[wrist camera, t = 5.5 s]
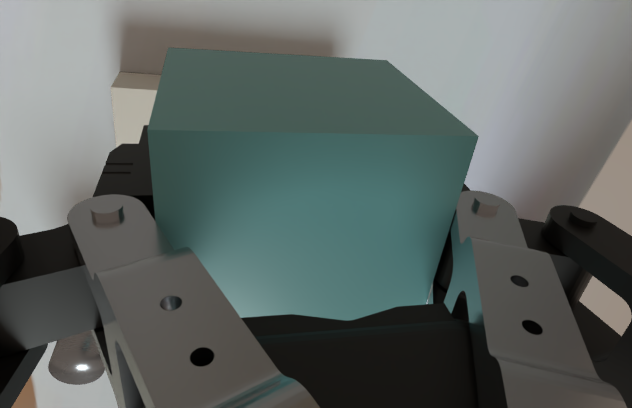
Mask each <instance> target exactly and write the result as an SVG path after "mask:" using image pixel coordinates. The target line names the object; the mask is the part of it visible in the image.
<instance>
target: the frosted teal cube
mask: <svg viewBox="0 0 632 408" xmlns="http://www.w3.org/2000/svg"><path fill="white" fill-rule="evenodd" d="M147 133H148V144H149V155H150V166H151V177H152V189H153V200H154V211H155V222H156V223H157V225H158V226H159V228H160V229H161V231H162V232H163V234H164V235H165V236H166V238H167V239H168V241H169V242H170V244H171V245H172V247H173V248H174V250H176V249H180V248H183V247H189V248H190V249H191V250H192V251H193V252H194V253H195V255H196V256H197V257H198V259H199V260H200V262H201V263H202V264H203V266H204V267H205V269H206V270H207V271H208V273H209V274H210V276H211V277H212V278H213V280H214V281H215V283H216V284H217V285H218V287H219V288H220V290H221V291H222V292H223V294H224V295H225V296H226V298H227V299H228V301H229V302H230V303H231V305H232V306H233V308H234V309H235V310H236V312H237V313H238V315H239V316H240V317H241V318H244V317H258V316H272V315H286V314H296V315H304V316H312V317H320V318H329V319H337V320H347V321H348V320H355V319H358V318H362V317H365V316H368V315H371V314H375V313H378V312H381V311H384V310H388V309H391V308H394V307H397V306H411V305H425V304H426V302H427V299H428V296H429V292H430V289H431V286H432V283H433V280H434V277H435V273H436V270H437V267H438V264H439V261H440V257H441V254H442V251H443V248H444V245H445V242H446V238H447V235H448V232H449V229H450V226H451V222H452V219H453V216H454V213H455V210H456V207H457V203H458V200H459V197H460V194H461V191H462V187H463V184H464V181H465V178H466V175H467V172H468V168H469V165H470V162H471V159H472V156H473V152H474V149H475V146H476V143H477V140H478V137H479V136H478V135H476V134H475V133H474V132H473V131H472V130H470V129H469V128H468V127H467V126H466V125H464V124H463V123H462V122H461V121H459V120H458V119H457V118H456V117H455V116H453V115H452V114H451V113H450V112H449V111H447V110H446V109H445V108H444V107H443V106H441V105H440V104H439V103H438V102H436V101H435V100H434V99H433V98H432V97H430V96H429V95H428V94H427V93H426V92H424V91H423V90H422V89H421V88H420V87H418V86H417V85H416V84H415V83H413V82H412V81H411V80H410V79H409V78H407V77H406V76H405V75H404V74H403V73H401V72H400V71H399V70H398V69H397V68H395V67H394V66H393V65H392V64H390V63H389V62H388V61H387V60H372V59H355V58H338V57H321V56H303V55H286V54H269V53H252V52H235V51H218V50H201V49H184V48H168V51H167V55H166V59H165V62H164V66H163V70H162V74H161V78H160V82H159V86H158V90H157V94H156V98H155V101H154V105H153V109H152V113H151V117H150V121H149V125H148V129H147Z"/></svg>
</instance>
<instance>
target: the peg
mask: <svg viewBox="0 0 632 408" xmlns="http://www.w3.org/2000/svg"><path fill="white" fill-rule="evenodd" d="M48 368H49V372H50V373H51V375H52V376H53V377H54V378H56V379H57V380H59V381H61V382H64V383H67V384H75V385H80V384H87V383H90V382H93V381H95V380H97V379H98V378H100V377H101V376H102V374H103V373H104V370H105V367H104V364H103V361H102V359H101V356H100V353H99V351H98V348H97V345H96V342H95V340H94V337H93V334H92V332H91V330H89V331H86V332H83V333H80V334H76V335H73V336H70V337H67V338H63V339H60V340H57V343H56V346H55V348H54V351H53V354H52V356H51V359H50V362H49V366H48Z"/></svg>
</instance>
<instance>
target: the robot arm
mask: <svg viewBox="0 0 632 408" xmlns="http://www.w3.org/2000/svg"><path fill="white" fill-rule="evenodd" d="M147 129H148V125H144V126H143V130H142V133H141V137H140V141H139V144H125V143H122V144H121V145H119V146H118V147H117V148H115V149H114V150H113V151H111V152H110V153H109V156H108V158H107V161H106V165H105V166H104V169H103V171H102V174H101V177H100V179H99V182H98V184H97V187H96V190H95V192H94V195H93V197H92V198H89V199H87V200H84V201H82V202H80V203H78V204H77V205H75V206H74V207H73V208H72V209H71V210H70V211H69V213H68V217H67V220H68V224H67V225H64V226H62V227H59V228H55V229H51V230H47V231H42V232H37V233H32V234H27V235H22V236H19V233H18V229H17V226H16V225H15V224H14V223H13V222H12V221H11V220H8V219H6V218H2V217H0V408H11V407H12V405H13V404H14V402H15V401H16V399H17V397H18V396H19V394H20V392H21V390H22V389H23V387H24V386H25V384H26V382H27V381H28V379H29V377H30V376H31V374H32V372H33V371H34V369H35V367H36V366H37V364H38V362H39V361H40V359H41V357H42V356H43V354H44V352H45V350H46V348H47V345H48V343H50V342H53V341H57V340H60V339H63V338H67V337H70V336H73V335H76V334H80V333H83V332H86V331H89V330H91V332H92V334H93V337H94V340H95V342H96V345H97V348H98V351H99V353H100V356H101V359H102V361H103V364H104V367H105V369H106V372H107V375H108V378H109V380H110V383H111V386H112V388H113V391H114V394H115V398H116V401H117V404H118V408H632V320H631V323H630V324H629V326H628V328H627V329H626V331H625V332H624V334H623V335H622V337H621V336H620V335H619V334H618V333H616V332H615V331H614V330H613V329H612V328H611V327H609V326H608V325H607V324H606V323H604V322H603V321H602V320H601V319H600V318H599V317H597V316H596V315H595V314H594V313H593V312H591V311H590V310H589V309H588V308H587V307H586V306H584V305H583V304H582V303H581V302H579V299H580V297H581V296H582V293H583V292H584V290H585V288H586V287H587V285H588V283H589V281H590V279H591V277H592V276H594V277H595V278H597V279H598V280H600V281H601V282H602V283H603V284H605V285H606V286H607V287H608V288H610V289H611V290H612V291H614V292H615V293H616V294H618V295H619V296H620V297H622V298H623V299H624V300H625V301H626V302H627V304H628V305H629V307H630V309H631V313H632V236H631V235H629V234H627V233H626V232H624V231H623V230H621V229H619V228H618V227H616V226H615V225H613V224H612V223H610V222H608V221H607V220H605V219H604V218H602V217H600V216H598V215H597V214H594V213H593V212H590V211H587V210H585V209H581V208H578V207H573V206H564V205H561V206H555V207H553V208H552V209H551V210H550V212H549V215H548V217H547V219H546V221H545V223H543V222H537V221H531V220H525V219H519V218H518V217H517V214H516V211H515V209H514V208H513V206H512V205H511V204H510V203H508V202H507V201H505V200H504V199H502V198H500V197H498V196H495V195H493V194H490V193H486V192H481V191H471V190H470V189H469V188H468V187H467V186H466V185H465V184H463V187H462V191H461V194H460V197H459V200H458V203H457V207H456V210H455V213H454V216H453V219H452V222H451V226H450V229H449V232H448V235H447V238H446V242H445V245H444V248H443V251H442V254H441V257H440V261H439V264H438V267H437V270H436V273H435V277H434V280H433V283H432V286H431V289H430V292H429V296H428V304H425V305H411V306H397V307H394V308H391V309H388V310H384V311H381V312H378V313H375V314H371V315H368V316H365V317H362V318H358V319H355V320H348V321H347V320H337V319H329V318H320V317H312V316H304V315H296V314H286V315H272V316H258V317H244V318H241V317H240V316H239V315H238V313H237V312H236V310H235V309H234V308H233V306H232V305H231V303H230V302H229V301H228V299H227V298H226V296H225V295H224V294H223V292H222V291H221V290H220V288H219V287H218V285H217V284H216V283H215V281H214V280H213V278H212V277H211V276H210V274H209V273H208V271H207V270H206V269H205V267H204V266H203V264H202V263H201V262H200V260H199V259H198V257H197V256H196V255H195V253H194V252H193V251H192V250H191V249H190V248H189V247H183V248H180V249H176V250H174V248H173V247H172V245H171V244H170V242H169V241H168V239H167V238H166V236H165V235H164V234H163V232H162V231H161V229H160V228H159V226H158V225H157V223H156V222H155V211H154V200H153V189H152V177H151V166H150V155H149V144H148V133H147Z"/></svg>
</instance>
